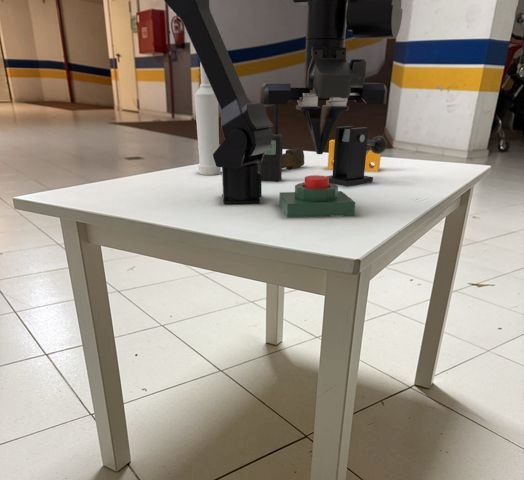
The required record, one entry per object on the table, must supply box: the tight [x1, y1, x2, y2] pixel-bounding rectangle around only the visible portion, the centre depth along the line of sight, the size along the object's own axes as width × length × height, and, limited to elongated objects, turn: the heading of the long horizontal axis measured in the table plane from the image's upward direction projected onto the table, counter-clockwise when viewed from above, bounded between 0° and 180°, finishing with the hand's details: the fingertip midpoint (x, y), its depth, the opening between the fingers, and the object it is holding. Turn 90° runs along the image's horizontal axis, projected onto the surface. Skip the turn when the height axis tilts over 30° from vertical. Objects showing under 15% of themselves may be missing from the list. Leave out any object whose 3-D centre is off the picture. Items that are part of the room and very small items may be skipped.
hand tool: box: [257, 147, 305, 172], centre depth 117 cm, size 19×4×5 cm, turn 135°
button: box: [303, 175, 329, 189], centre depth 81 cm, size 4×4×2 cm
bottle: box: [193, 61, 222, 176], centre depth 110 cm, size 5×5×25 cm
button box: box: [278, 182, 356, 219], centre depth 82 cm, size 11×9×4 cm
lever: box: [342, 129, 388, 155], centre depth 104 cm, size 12×4×4 cm, turn 128°
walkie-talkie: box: [259, 104, 284, 183], centre depth 104 cm, size 5×3×15 cm
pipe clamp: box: [327, 139, 381, 172], centre depth 119 cm, size 12×4×6 cm, turn 73°
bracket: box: [326, 125, 374, 188], centre depth 103 cm, size 8×7×11 cm
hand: (319, 154), depth 80 cm, fingers closed
